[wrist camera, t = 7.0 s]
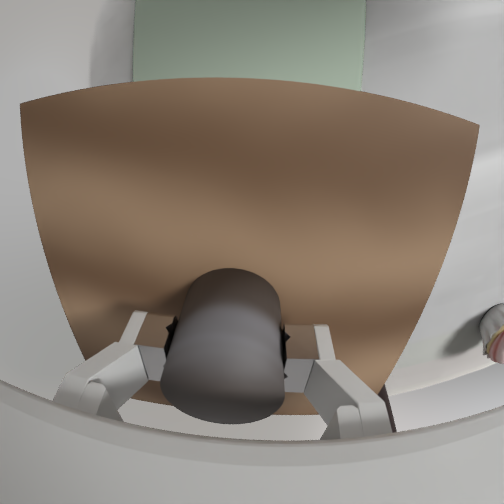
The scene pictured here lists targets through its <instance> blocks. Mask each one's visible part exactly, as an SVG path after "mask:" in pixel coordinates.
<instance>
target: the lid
mask: <svg viewBox="0 0 504 504" xmlns="http://www.w3.org/2000/svg"><path fill="white" fill-rule="evenodd" d="M20 114H21V128H22V139H23V148H24V156H25V164H26V171H27V176H28V183H29V188H30V193H31V198H32V204H33V209H34V213H35V217H36V222H37V226H38V230H39V234H40V238H41V241H42V245H43V249H44V252H45V256H46V259H47V263H48V266H49V269H50V272H51V275H52V278H53V281H54V284H55V287H56V290H57V293H58V296H59V298H60V301H61V304H62V307H63V309H64V312H65V315H66V317H67V320H68V322H69V324H70V327H71V329H72V332H73V334H74V336H75V339H76V341H77V343H78V345H79V347H80V350H81V352H82V354H83V356H84V359H85V361H86V360H88V359H89V358H91V357H92V356H94V355H95V354H97V353H99V352H100V351H102V350H103V349H105V348H106V347H108V346H109V345H111V344H112V343H114V342H119V341H120V339H121V336H122V334H123V332H124V330H125V328H126V326H127V324H128V322H129V320H130V317H131V315H132V313H133V312H134V311H135V310H138V311H145V312H154V313H161V314H168V315H176V316H177V319H178V323H177V326H176V329H175V332H174V336H173V339H172V342H171V345H170V349H169V352H168V355H167V359H166V362H165V366H164V369H163V372H162V376H161V379H160V381H155V380H148V382H147V383H146V384H145V385H143V386H142V387H141V388H140V389H139V390H138V391H137V392H136V393H135V394H134V395H133V396H132V397H131V398H132V399H136V400H142V401H147V402H153V403H158V404H165V405H171V406H174V407H176V408H177V409H179V410H180V411H182V412H184V413H186V414H188V415H190V416H192V417H195V418H198V419H201V420H204V421H208V422H214V423H220V424H243V423H251V422H255V421H258V420H262V419H264V418H267V417H269V416H270V415H318V414H319V413H318V412H317V411H316V409H315V408H314V407H313V405H312V404H311V403H310V401H309V400H308V399H307V397H306V396H305V395H304V393H298V392H285V385H284V364H283V345H282V328H283V324H284V323H285V324H312V325H313V324H327V325H328V326H329V331H330V335H331V340H332V344H333V349H334V354H335V359H336V360H341V361H342V362H343V363H344V364H345V365H346V366H347V367H348V368H349V369H350V370H351V371H352V372H353V373H354V374H355V375H356V376H357V377H359V378H360V379H361V380H362V381H363V382H364V383H365V384H366V385H367V386H368V387H369V388H370V389H371V390H372V391H373V392H375V393H376V394H377V395H378V393H379V392H380V390H381V388H382V387H383V385H384V383H385V382H386V380H387V378H388V377H389V375H390V373H391V372H392V370H393V368H394V366H395V365H396V363H397V361H398V359H399V357H400V355H401V354H402V352H403V350H404V348H405V346H406V344H407V342H408V340H409V338H410V336H411V334H412V332H413V330H414V328H415V326H416V324H417V322H418V320H419V318H420V316H421V314H422V312H423V309H424V307H425V305H426V303H427V300H428V298H429V296H430V294H431V291H432V289H433V287H434V284H435V282H436V279H437V277H438V274H439V272H440V269H441V267H442V264H443V261H444V259H445V256H446V253H447V250H448V248H449V245H450V242H451V239H452V236H453V233H454V230H455V227H456V224H457V220H458V217H459V214H460V210H461V207H462V204H463V200H464V196H465V193H466V189H467V185H468V181H469V177H470V172H471V168H472V164H473V159H474V154H475V149H476V144H477V138H478V133H479V126H480V125H478V124H475V123H473V122H470V121H467V120H465V119H462V118H459V117H456V116H453V115H450V114H447V113H444V112H441V111H438V110H434V109H431V108H428V107H424V106H421V105H417V104H413V103H410V102H406V101H402V100H398V99H394V98H390V97H385V96H381V95H376V94H372V93H367V92H362V91H356V90H351V89H345V88H339V87H333V86H326V85H319V84H311V83H303V82H294V81H283V80H271V79H255V78H224V77H205V78H174V79H158V80H146V81H136V82H127V83H119V84H111V85H104V86H98V87H92V88H86V89H80V90H75V91H70V92H65V93H61V94H56V95H52V96H48V97H44V98H39V99H36V100H32V101H28V102H24V103H21V104H20Z"/></svg>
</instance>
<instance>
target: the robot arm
mask: <svg viewBox="0 0 504 504" xmlns="http://www.w3.org/2000/svg"><path fill="white" fill-rule="evenodd" d="M177 323H178V319H177V316H176V315H168V314H161V313H154V312H145V311H138V310H135V311H134V312H133V313H132V315H131V317H130V320H129V322H128V324H127V326H126V328H125V330H124V332H123V334H122V336H121V339H120V341H119V342H114V343H112V344H111V345H109V346H108V347H106V348H105V349H103V350H102V351H100V352H99V353H97V354H95V355H94V356H92V357H91V358H89V359H88V360H86V361H85V362H83V363H82V364H80V365H79V366H77V367H76V368H74V369H72V370H71V371H69V372H68V373H66V375H65V377H64V379H63V381H62V383H61V385H60V387H59V389H58V391H57V393H56V395H55V397H54V399H53V401H51V400H48V399H45V398H42V397H40V396H37V395H35V394H32V393H30V392H27V391H25V390H22V389H20V388H18V387H15V386H13V385H11V384H8V383H6V382H4V381H1V380H0V504H504V405H503V406H501V407H498V408H495V409H492V410H489V411H485V412H482V413H479V414H476V415H472V416H469V417H465V418H462V419H458V420H454V421H450V422H446V423H441V424H437V425H433V426H428V427H423V428H418V429H413V430H407V431H402V432H395V433H392V429H391V425H390V421H389V417H388V413H387V409H386V405H385V402H384V401H383V400H382V399H381V398H380V397H379V396H378V395H377V394H376V393H375V392H373V391H372V390H371V389H370V388H369V387H368V386H367V385H366V384H365V383H364V382H363V381H362V380H361V379H360V378H359V377H357V376H356V375H355V374H354V373H353V372H352V371H351V370H350V369H349V368H348V367H347V366H346V365H345V364H344V363H343V362H342V361H341V360H336V359H335V354H334V349H333V344H332V340H331V335H330V331H329V326H328V325H327V324H313V325H312V324H285V323H284V324H283V328H282V345H283V364H284V385H285V392H298V393H304V395H305V396H306V397H307V399H308V400H309V401H310V403H311V404H312V405H313V407H314V408H315V409H316V411H317V412H318V413H319V415H320V416H321V417H322V419H323V420H324V421H325V423H326V424H327V425H328V426H327V428H326V430H325V432H324V434H323V435H322V437H321V438H320V440H311V441H309V440H308V441H307V440H305V441H270V440H268V441H267V440H246V439H245V440H244V439H231V438H218V437H209V436H200V435H192V434H185V433H178V432H171V431H165V430H160V429H154V428H149V427H144V426H139V425H134V424H130V423H126V422H124V421H123V420H122V418H121V416H120V414H119V412H118V411H117V410H118V409H119V408H120V407H121V406H122V405H123V404H124V403H125V402H126V401H127V400H129V399H130V398H131V397H132V396H133V395H134V394H135V393H136V392H137V391H138V390H139V389H140V388H141V387H142V386H143V385H145V384H146V383H147V382H148V380H155V381H160V379H161V376H162V372H163V369H164V366H165V362H166V359H167V355H168V352H169V349H170V345H171V342H172V339H173V336H174V332H175V329H176V326H177Z"/></svg>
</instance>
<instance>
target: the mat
mask: <svg viewBox="0 0 504 504" xmlns="http://www.w3.org/2000/svg"><path fill="white" fill-rule="evenodd" d="M365 21H366V0H136V2H135V17H134V39H133V82H136V81H146V80H158V79H174V78H205V77H224V78H255V79H271V80H283V81H294V82H303V83H311V84H319V85H326V86H333V87H339V88H345V89H351V90H356V91H361V83H362V72H363V58H364V42H365Z"/></svg>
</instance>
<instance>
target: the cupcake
mask: <svg viewBox="0 0 504 504" xmlns="http://www.w3.org/2000/svg"><path fill="white" fill-rule="evenodd" d="M480 333H481V336H482V341H483V355H487V358H491V360H492V361H494V362H498V363H501V364H504V304H498V305H496V306H494V307H493V308H491V309H490V310H489V311H488V312H487V313H486V314H485V315H484V317H483V318H482V320H481V322H480Z"/></svg>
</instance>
